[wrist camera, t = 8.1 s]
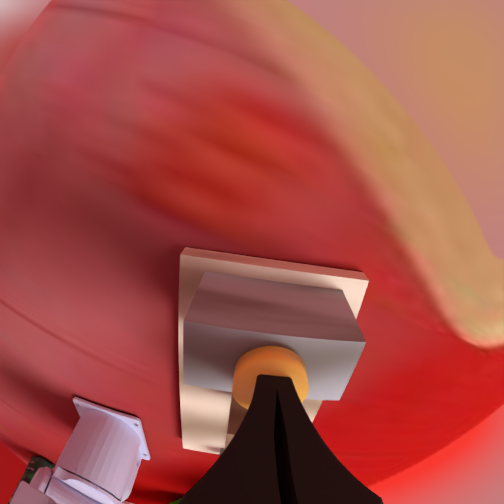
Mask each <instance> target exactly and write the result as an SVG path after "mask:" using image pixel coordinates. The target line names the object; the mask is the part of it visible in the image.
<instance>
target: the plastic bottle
mask: <svg viewBox="0 0 504 504" xmlns="http://www.w3.org/2000/svg"><path fill="white" fill-rule="evenodd" d="M181 499H182V498H179V499H178V500H175V501H173V502H170V503H168V504H178V503H179V502H180V501H181Z"/></svg>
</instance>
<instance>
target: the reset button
mask: <svg viewBox="0 0 504 504" xmlns="http://www.w3.org/2000/svg"><path fill="white" fill-rule="evenodd" d="M260 374H264V375H274V376H284V377H290V378H291V379H292V381H293V384H294V386H295V389H296V391H297V394H298V396H299V398H300V400H301V403H302V402H303V401H304V400H305V399H306V397H307V395H308V391H309V386H308V379H307V372H306V366H305V363H304V361H303V359H302V358H301V357H300V356H299V355H298V354H296V353H295V352H293V351H291V350H289V349H287V348H283V347H277V346H265V347H259V348H256V349H253V350H250V351H248V352H247V353H245V354H244V355H243V356H241V357H240V359H239V360H238V361H237V363H236V365H235V370H234V377H233V385H232V394H233V397H234V398H235V400H236V401H237V402H238V403H239V404H240V405H241V406H242V407H244V408H246V409H248V408H249V406H250V403H251V401H252V397H253V393H254V388H255V384H256V379H257V376H258V375H260Z"/></svg>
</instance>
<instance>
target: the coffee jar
mask: <svg viewBox="0 0 504 504" xmlns="http://www.w3.org/2000/svg"><path fill="white" fill-rule="evenodd" d="M46 466H47V467H48V468H50V469H53V468H54V467H55V465H54V464H51V463H50V462H48V461H47V460H46V459H44V458H42V457H37V456H34V457H32V458H31V460H30V462H29V464H28V466H27V468H26V470H25V472H24V474H23V476H22V478H21V480H20V482H21V481H25V482H26V483H28V484H30V482H31V480H32V478H33V477H34V475H35V473H36V472H37V470H38V469H39V468H41V467H46ZM20 482H19V484H20ZM19 484H18V486H19ZM18 486H17V487H16V490H17V488H18ZM16 490H15V491H14V493H13V495H12V497H11V498H10V500H9V502H8V504H10V502H11V500H12V498H13V496H14V494H15V492H16Z"/></svg>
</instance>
